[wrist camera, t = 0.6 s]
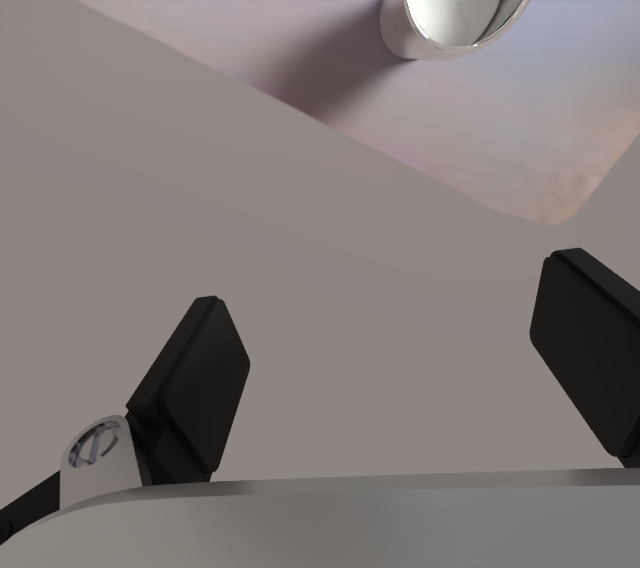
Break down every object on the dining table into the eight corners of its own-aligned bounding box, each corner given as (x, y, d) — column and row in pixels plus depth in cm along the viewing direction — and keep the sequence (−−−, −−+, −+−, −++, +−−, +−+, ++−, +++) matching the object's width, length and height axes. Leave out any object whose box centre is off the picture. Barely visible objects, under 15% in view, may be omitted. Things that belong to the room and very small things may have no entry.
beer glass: (373, 68, 30) (394, 65, 18) (374, -34, 26) (402, -130, 14) (450, 61, 30) (529, 52, 17) (462, -45, 26) (576, -157, 13)
